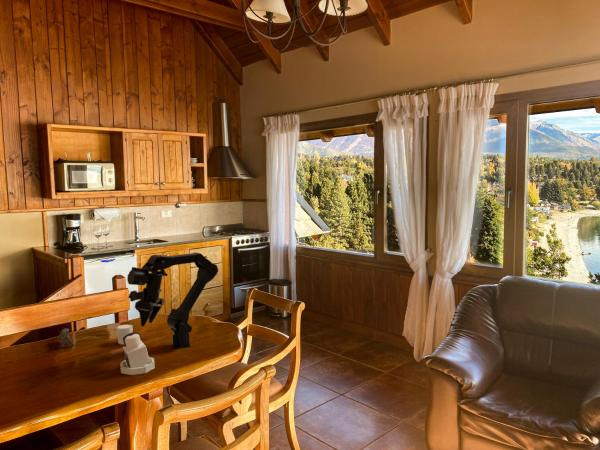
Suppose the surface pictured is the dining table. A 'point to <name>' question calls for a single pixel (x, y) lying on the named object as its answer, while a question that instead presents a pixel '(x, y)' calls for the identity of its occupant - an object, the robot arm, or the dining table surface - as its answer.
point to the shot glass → (123, 332)
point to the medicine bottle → (135, 350)
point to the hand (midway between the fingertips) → (146, 324)
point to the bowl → (139, 370)
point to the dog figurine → (65, 337)
